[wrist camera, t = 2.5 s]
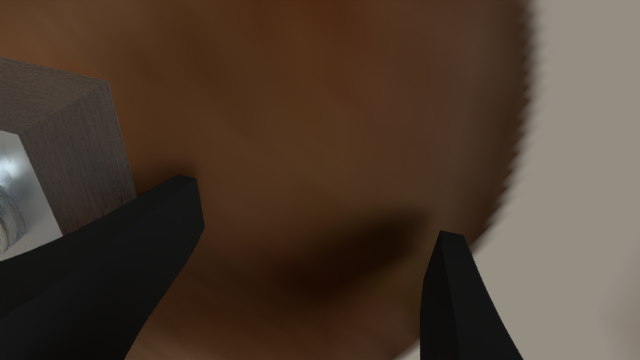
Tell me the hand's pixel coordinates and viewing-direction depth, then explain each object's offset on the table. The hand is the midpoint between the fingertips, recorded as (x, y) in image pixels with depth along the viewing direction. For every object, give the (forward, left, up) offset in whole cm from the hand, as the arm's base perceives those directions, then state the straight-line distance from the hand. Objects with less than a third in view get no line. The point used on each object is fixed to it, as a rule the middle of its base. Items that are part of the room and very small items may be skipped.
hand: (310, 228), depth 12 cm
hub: (0, +10, -2) cm, 10 cm away
